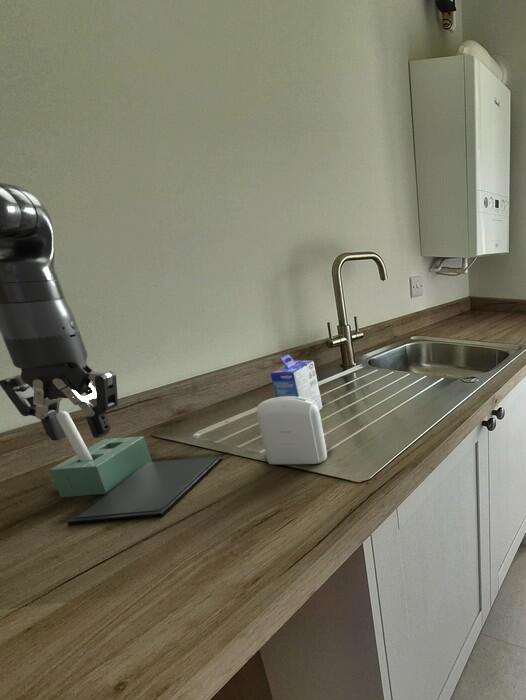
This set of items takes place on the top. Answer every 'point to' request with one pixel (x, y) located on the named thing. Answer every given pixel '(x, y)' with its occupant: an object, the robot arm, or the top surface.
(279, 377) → the ink cartridge box
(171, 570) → the top surface
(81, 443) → the stylus
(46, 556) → the top surface
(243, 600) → the top surface
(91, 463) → the pen stand
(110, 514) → the tablet
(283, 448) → the photo printer
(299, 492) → the top surface
